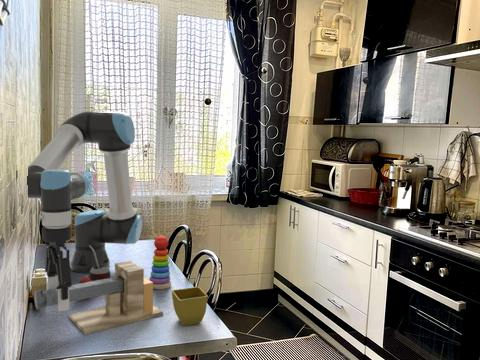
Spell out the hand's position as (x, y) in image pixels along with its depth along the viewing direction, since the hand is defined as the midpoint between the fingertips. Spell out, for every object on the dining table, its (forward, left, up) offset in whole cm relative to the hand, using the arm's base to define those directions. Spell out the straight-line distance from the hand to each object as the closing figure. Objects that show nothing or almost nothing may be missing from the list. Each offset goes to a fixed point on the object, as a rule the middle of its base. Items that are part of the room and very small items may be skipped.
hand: (58, 304), depth 125 cm
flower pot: (+16, +33, -8) cm, 37 cm away
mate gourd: (-26, +21, -8) cm, 34 cm away
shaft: (0, +8, 0) cm, 8 cm away
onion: (-19, +14, -8) cm, 25 cm away
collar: (0, +25, -2) cm, 25 cm away
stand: (0, +17, -8) cm, 19 cm away
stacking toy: (-16, +40, -8) cm, 44 cm away
